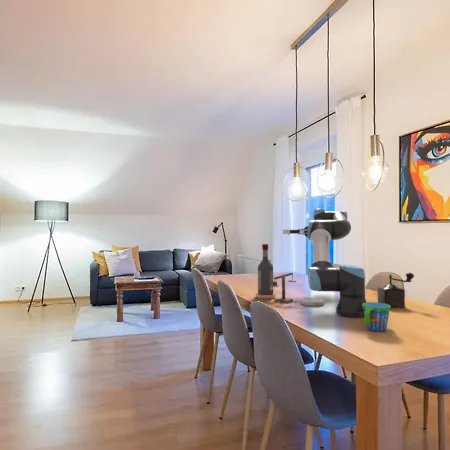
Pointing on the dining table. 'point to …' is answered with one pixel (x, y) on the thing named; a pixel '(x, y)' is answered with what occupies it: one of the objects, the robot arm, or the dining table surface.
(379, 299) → the manual coffee grinder
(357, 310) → the robot arm
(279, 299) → the balance
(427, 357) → the dining table surface
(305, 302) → the grey dish
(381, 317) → the snack cup
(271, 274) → the liquor
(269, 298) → the terracotta dish
